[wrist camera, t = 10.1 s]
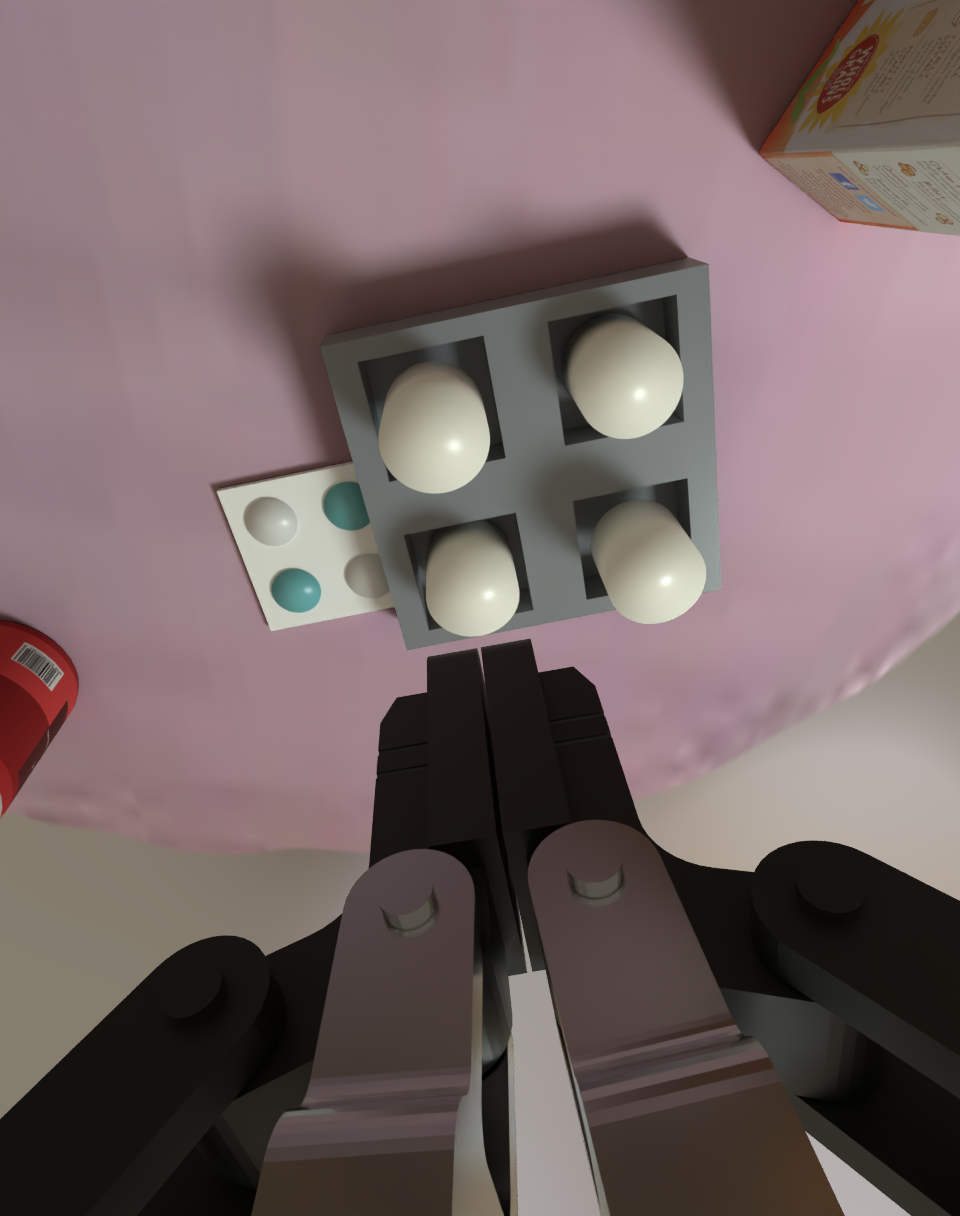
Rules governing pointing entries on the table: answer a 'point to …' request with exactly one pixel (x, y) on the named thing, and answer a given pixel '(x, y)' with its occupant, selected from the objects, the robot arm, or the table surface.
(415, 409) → the button
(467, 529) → the button
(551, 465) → the board
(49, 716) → the canned food
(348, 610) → the card
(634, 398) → the button
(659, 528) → the button
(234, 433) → the table surface
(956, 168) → the cracker box
